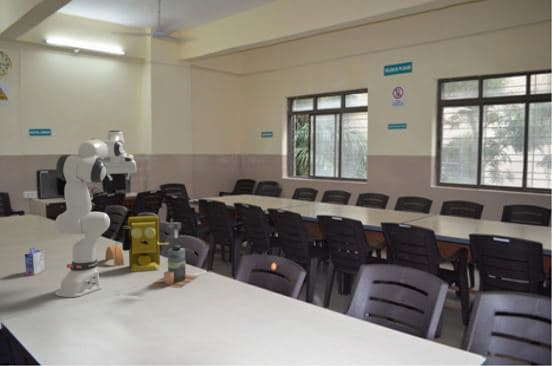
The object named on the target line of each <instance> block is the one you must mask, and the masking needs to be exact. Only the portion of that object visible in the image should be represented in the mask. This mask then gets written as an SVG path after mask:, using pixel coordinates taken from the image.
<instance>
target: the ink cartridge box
mask: <svg viewBox="0 0 552 366" xmlns="http://www.w3.org/2000/svg"><path fill="white" fill-rule="evenodd" d="M29 250H30V251H29V252H26V253H25V254H24V261H25V273H26V276H35V275H37V274H39V273H42V272H45V256H44V249H36V248H34V246H33V247H30V248H29Z"/></svg>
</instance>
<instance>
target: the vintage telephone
mask: <svg viewBox="0 0 552 366" xmlns="http://www.w3.org/2000/svg"><path fill="white" fill-rule="evenodd" d="M124 223H125V225H122V228H123V241H122V246H121V248H122V250H123V251H124V252H128V263H129V264H128V265H129V267H130V272H131V273H136V272H137V273H138V272H147V271H158V270H159V265H161V256H160V255H161V252H160V247H161V246H163V245H165V246H168V245H170V242H160V217H159V216H158V215H147V216H129V217H128V218H127V223H126V222H124ZM119 228H120V227H119V226H118V230H119ZM118 235H119V233H117V236H116V238H118ZM115 243H116V244H115V245H117V243H118V240H116V242H115ZM115 252H116V248H115ZM115 257H116V255H115ZM116 259H117V258H116ZM117 262H118V261H117ZM118 265H119V264H118Z"/></svg>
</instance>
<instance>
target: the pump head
mask: <svg viewBox="0 0 552 366" xmlns="http://www.w3.org/2000/svg"><path fill="white" fill-rule="evenodd" d="M181 229H182V222H178V221H176V222H175V221H174V222H171V223H170V225H167V226H166V230H174V239H178V237H179V235H178V233H179V232H178V231H179V230H181Z"/></svg>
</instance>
